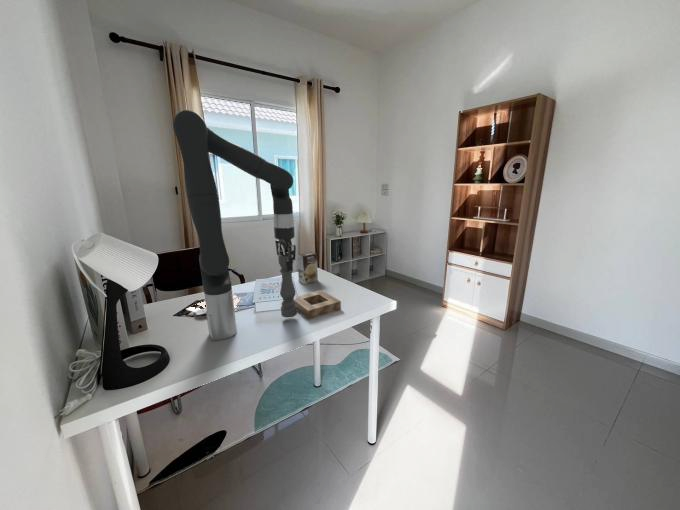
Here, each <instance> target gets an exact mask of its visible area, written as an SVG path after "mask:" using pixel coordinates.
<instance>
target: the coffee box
mask: <svg viewBox="0 0 680 510" xmlns="http://www.w3.org/2000/svg"><path fill="white" fill-rule="evenodd" d="M297 268H298V269H297V271H298V283H301V284H303V285H307V284H310V283H315V282H318V281H319V279H318V253H316V252H312V251H309V252H302V253H301V252H300V253H297Z"/></svg>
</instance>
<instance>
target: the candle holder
mask: <svg viewBox="0 0 680 510" xmlns="http://www.w3.org/2000/svg"><path fill="white" fill-rule="evenodd" d="M277 256H278V259H277V260H278V264H279V266H280V269H279V272H280V274H281V285H280V292H279V294H280V297H281V299H282V302H281V305H280V313H281V314H280V315H281V316H282V317H283V318H293V317H295V316H297V313H298V311H297V310H296V305H295V303H296V302H295V301H294V300H293V299H294V297H296V288H295V285H294V281H293V275H292V274H293V272H294V269H293V270H291V271H288V270H287V265H286V257H285V256H284V254H283V253H282V254H279V255H277ZM292 263H293V264H294V260H293V261H292Z"/></svg>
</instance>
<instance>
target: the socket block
mask: <svg viewBox="0 0 680 510" xmlns="http://www.w3.org/2000/svg"><path fill="white" fill-rule="evenodd" d="M296 297H297V298H296V299H293V300H294V301H295V302H296V303H295V305H296V310H297V313H300V314H301V315H302V316H303V317H305V318H306V319H307V320H309V321H310V320H312V319H315V318H319V317H322V316H325V315H327V314H331V313H334V312H337V311H340V310H342V303H341V302H342V301H341V300H340V299H338V298H336V297H335V296H333V295H331V294H329V293H328V292H326V291H325V290H321V289H320V290H317V291H313V292H309V293H306V294H301V295H297V296H296Z"/></svg>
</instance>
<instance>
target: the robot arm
mask: <svg viewBox="0 0 680 510" xmlns="http://www.w3.org/2000/svg"><path fill="white" fill-rule="evenodd" d="M172 129H173V133H174V134H175V137H176V140H177V144H178V147H179V149H180V153H181V157H182V163H183V164H182V165H183V176H184V185H185V187H184V188H185V194H186V199H187V200H186V201H187V204H188V205H187V206H188V208H189V211H190V216H191V219H192V223H193V225H194V228H195V230H196V231H195V232H196V234H197V237H198V244H199V255H198V262H199V268H200V269H199V270H200V274H201V283H202V288H203V294H204V295H203V296H204V301H205V302H206V309H207V310H206V313H205V314H206V321H207V329H208V335H209V337H210V339H211V340H212V341H216V340H217V341H221V340H226V339H230V338H231V337H234V336H235V335H236V334H237V332H238V330H237V329H238V328H237V327H238V326H237V322H236V313H235V309H234V303H233V295H234V294H233V287H232V281H231V276H230V270H229V267H230V257H229V253H228V252H227V247H226V243H225V241H224V235H223V227H222V213H221V205H220V198H219V192H218V188H217V184H216V179H215V175H214V172H213V169H212V167H211V162H210V155H209V153H210V154H212V155H214V156H216V157H218V158H220V159H222V160H224V161H225V162H227V163H229V164H231V165H232V166H234V167H236V168H237V169H240V170H241V171H242V172H245V173H247V174H248V175H250V176H252V177H254V178H256V179H258V180H262V181H264V182H266V183H267V184H269V185H270V192H271V197H272V205H273V206H272V207H273V209H272V210H273V232H274V233H273V234H274V239H276V240H275V241H274V242H275V249H276V250H275V251H276V255H277V256H278V255H279V254H282V253H283V254H284V256H285V257H286V265H287V270H288V271H291V270H293V271H294V266H293V265H294V261H296V254H297V253H296V252H297V251H296V250H297V248H296V244H293V243H292V242H293V241H292V239H294V238H295V237H296V236H295V219H294V218H295V217H294V214H293V213H294V212H293V211H294V210H293V209H294V207H293V201H292V200H293V199H291V198H292V197H290V189H291V188H292V187H293V185H294V177H293V175H292V174H291V172H289V171H288V170H286V169H284V168H282V167H280V166H278V165H276V164H275V163H271V162H270V161H268V160H266V159H265V158H262V156H259V155H258V154H256V153H254V152H253V151H251V150H249V149H248V148H247V149H246V148H245V147H243V146H240V145H238V144H236V143H234V142H231V141H229V140H227V139H225V138H223V137H222V136H220V135H218V134H217V133H215V132H214V131H213V130H211V128H209V127H207V123H206V121H205V120H204V118H202V116H201V115H200V114H198V113H196V111H194V110H191V109H190V110H189V109H184V110H181V111H179V112H178V113H177V114H176V115H175V116H174V117H173V121H172ZM292 261H293V263H292Z"/></svg>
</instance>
